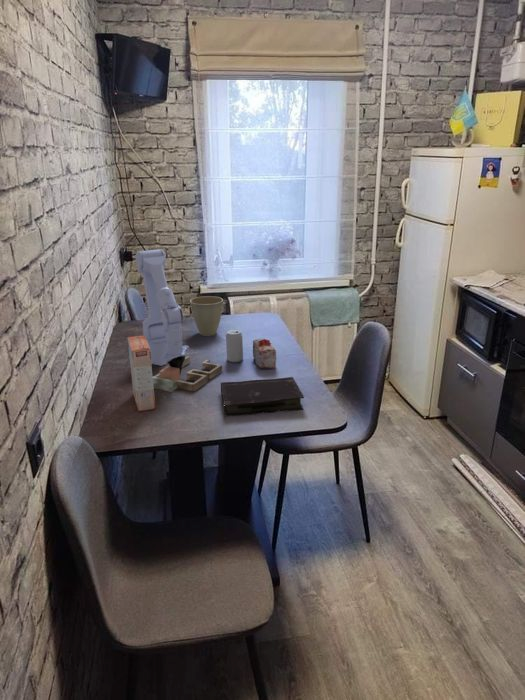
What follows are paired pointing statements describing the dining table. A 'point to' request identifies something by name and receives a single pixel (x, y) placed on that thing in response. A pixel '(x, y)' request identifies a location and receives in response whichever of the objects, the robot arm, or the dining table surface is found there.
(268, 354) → the food item
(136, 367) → the cracker box
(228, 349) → the beverage can
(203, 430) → the dining table surface
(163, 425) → the dining table surface
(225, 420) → the dining table surface
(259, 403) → the diary
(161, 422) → the dining table surface
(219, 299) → the plant pot
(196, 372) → the trap lane
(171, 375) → the block
